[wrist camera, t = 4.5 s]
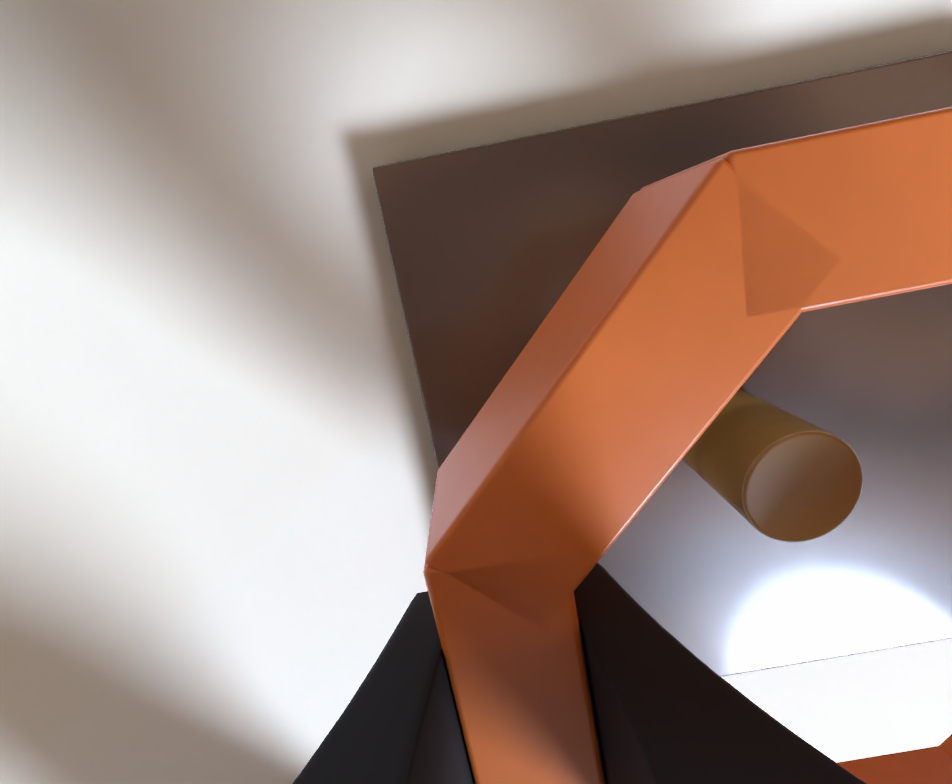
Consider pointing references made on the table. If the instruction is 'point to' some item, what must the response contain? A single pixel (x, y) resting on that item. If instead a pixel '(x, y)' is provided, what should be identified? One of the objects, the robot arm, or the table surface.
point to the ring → (656, 409)
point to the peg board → (814, 371)
